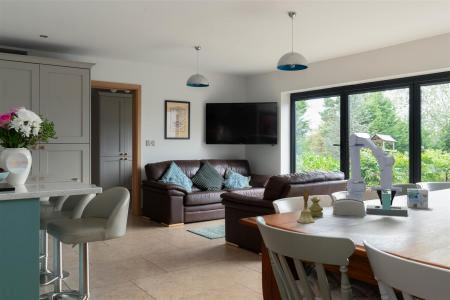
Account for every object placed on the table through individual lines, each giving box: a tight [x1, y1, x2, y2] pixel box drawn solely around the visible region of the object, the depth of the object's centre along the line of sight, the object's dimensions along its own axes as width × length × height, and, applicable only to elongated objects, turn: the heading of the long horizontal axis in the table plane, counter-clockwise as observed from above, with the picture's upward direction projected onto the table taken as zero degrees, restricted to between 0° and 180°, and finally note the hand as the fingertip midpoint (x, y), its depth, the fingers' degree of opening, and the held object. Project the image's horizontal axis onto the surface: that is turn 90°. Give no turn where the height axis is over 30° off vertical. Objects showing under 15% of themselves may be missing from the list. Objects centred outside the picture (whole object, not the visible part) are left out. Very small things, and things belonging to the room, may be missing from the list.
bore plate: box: [365, 204, 409, 217], centre depth 205 cm, size 20×12×3 cm, turn 67°
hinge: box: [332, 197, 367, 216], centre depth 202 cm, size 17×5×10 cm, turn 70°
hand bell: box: [296, 188, 315, 224], centre depth 183 cm, size 8×8×16 cm
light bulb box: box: [406, 187, 429, 209], centre depth 225 cm, size 11×7×11 cm, turn 73°
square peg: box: [381, 192, 391, 210], centre depth 195 cm, size 4×4×8 cm
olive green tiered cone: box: [308, 196, 324, 218], centre depth 197 cm, size 7×7×10 cm
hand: (386, 205), depth 195 cm, fingers closed on square peg, 4 cm apart
